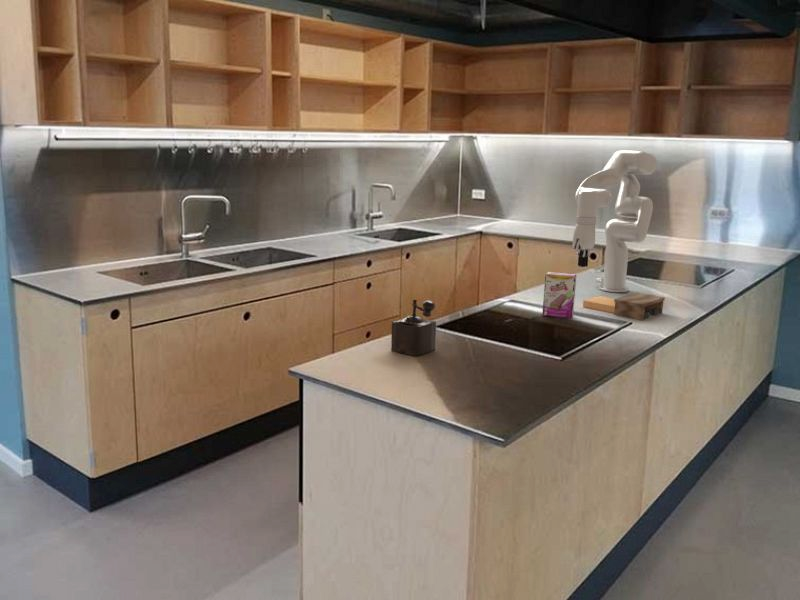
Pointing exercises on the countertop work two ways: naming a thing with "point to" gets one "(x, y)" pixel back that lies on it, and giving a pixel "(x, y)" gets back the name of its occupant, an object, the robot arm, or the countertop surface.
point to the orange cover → (600, 304)
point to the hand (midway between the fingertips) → (582, 266)
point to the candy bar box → (559, 295)
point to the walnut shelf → (638, 305)
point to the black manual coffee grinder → (414, 332)
